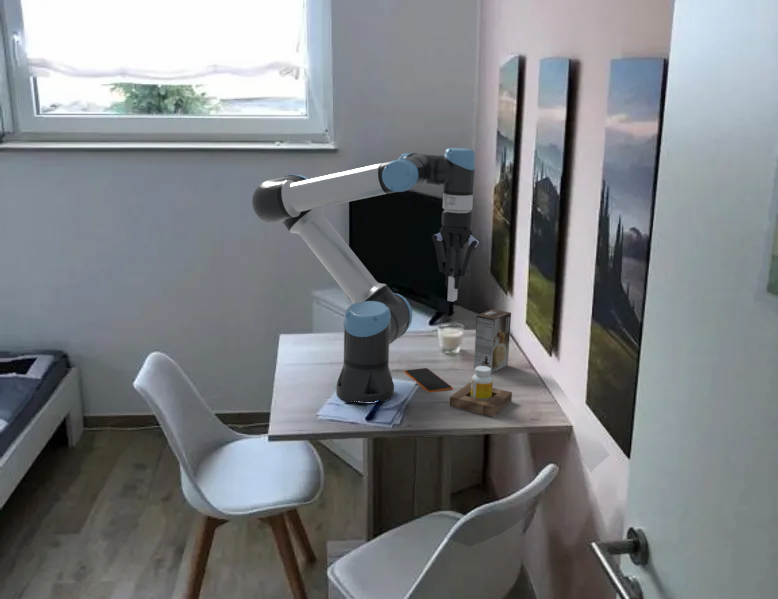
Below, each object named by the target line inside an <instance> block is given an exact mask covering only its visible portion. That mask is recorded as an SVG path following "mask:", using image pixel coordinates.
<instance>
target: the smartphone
mask: <svg viewBox="0 0 778 599" xmlns="http://www.w3.org/2000/svg"><path fill="white" fill-rule="evenodd" d="M403 373H405V375H407V376H408V377H409V378H411V379H412V381H414V380H415V381H416V382H417V383H418V384H419V385H418V384H417V383H416V382H415V381H414V382H415V383H416V384H417V385H418V386H420V387H421V388H422V389H423V390H424V391H426V392H428V393H437V392H444V391H445V392H446V391H451V390H454V388H453V386H452V385H450V384H449V383H448V382H446V381H445V380H444V379H443V378H441V377H440V376H438V375H437V374H436V373H434V372H433V371H432V370H431V369H429V368H428V367H422V368H421V367H420V368H414V369H406V370H404V371H403Z"/></svg>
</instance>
